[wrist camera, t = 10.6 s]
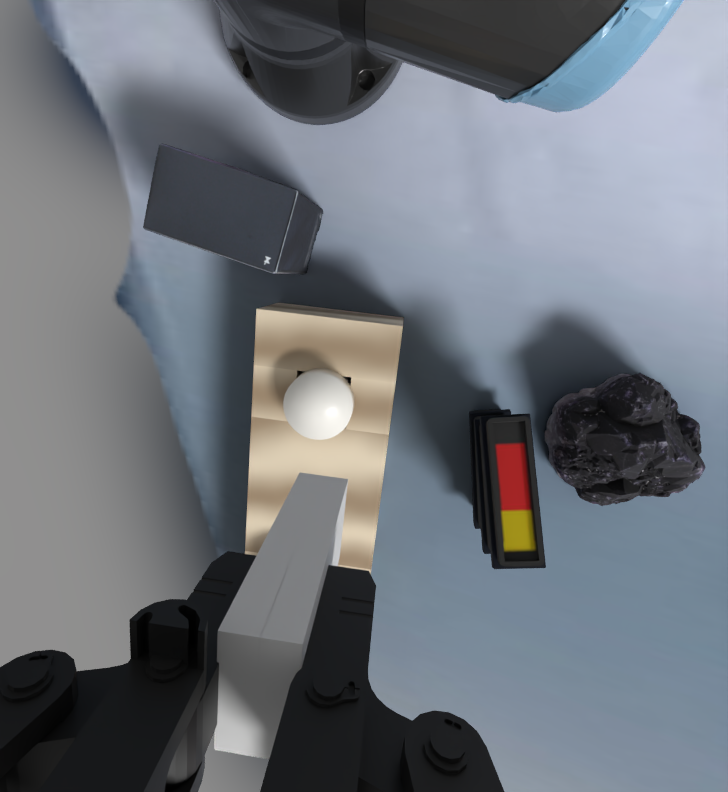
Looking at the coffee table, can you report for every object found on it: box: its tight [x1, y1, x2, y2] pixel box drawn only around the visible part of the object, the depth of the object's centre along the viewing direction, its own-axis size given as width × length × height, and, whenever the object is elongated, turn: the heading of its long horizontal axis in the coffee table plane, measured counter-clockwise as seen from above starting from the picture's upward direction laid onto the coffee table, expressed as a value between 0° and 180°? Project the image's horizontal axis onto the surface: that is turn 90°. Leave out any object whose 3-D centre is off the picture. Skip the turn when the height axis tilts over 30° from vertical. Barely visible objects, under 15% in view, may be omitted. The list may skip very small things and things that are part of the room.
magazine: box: [469, 409, 546, 569], centre depth 42 cm, size 4×13×15 cm, turn 5°
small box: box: [143, 144, 323, 275], centre depth 39 cm, size 11×6×10 cm, turn 72°
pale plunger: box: [283, 368, 355, 440], centre depth 42 cm, size 6×6×8 cm
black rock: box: [545, 373, 705, 506], centre depth 42 cm, size 13×14×10 cm
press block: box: [245, 303, 404, 574], centre depth 46 cm, size 32×12×7 cm, turn 174°
